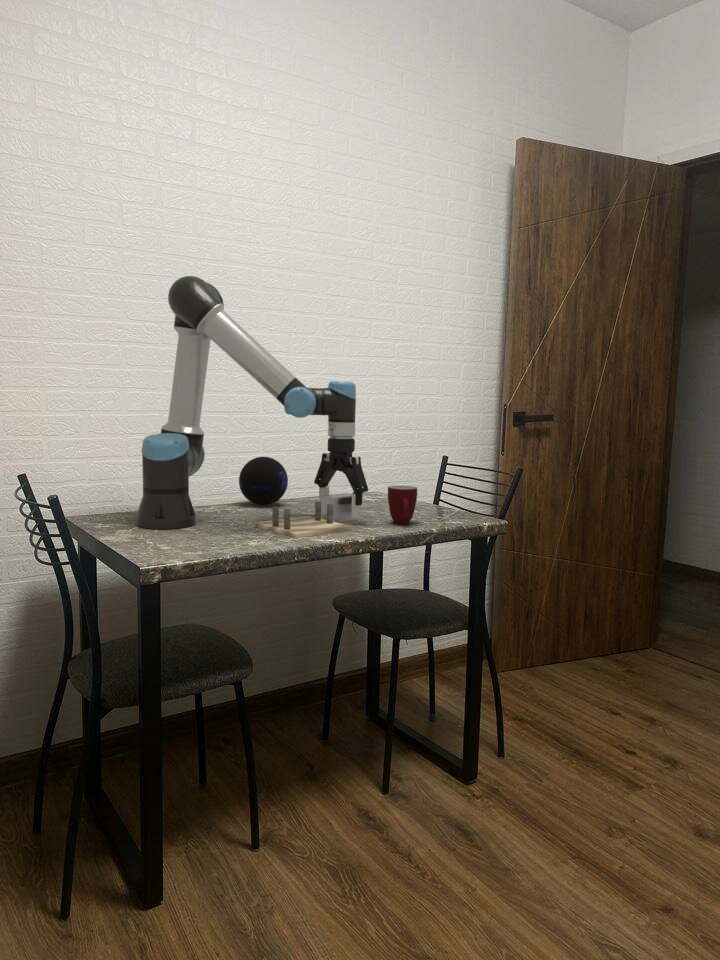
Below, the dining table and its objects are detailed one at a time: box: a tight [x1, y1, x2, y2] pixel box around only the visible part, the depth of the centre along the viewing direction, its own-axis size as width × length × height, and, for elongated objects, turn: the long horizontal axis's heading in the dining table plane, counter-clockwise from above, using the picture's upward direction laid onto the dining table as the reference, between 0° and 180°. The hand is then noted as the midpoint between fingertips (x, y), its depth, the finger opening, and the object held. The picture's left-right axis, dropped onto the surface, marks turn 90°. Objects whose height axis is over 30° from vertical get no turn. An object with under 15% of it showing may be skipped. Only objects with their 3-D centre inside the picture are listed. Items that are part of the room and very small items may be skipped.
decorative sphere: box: [238, 456, 289, 506], centre depth 226 cm, size 15×15×15 cm
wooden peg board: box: [254, 501, 353, 539], centre depth 191 cm, size 18×18×6 cm
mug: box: [387, 484, 418, 525], centre depth 200 cm, size 10×8×10 cm
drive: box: [321, 492, 359, 523], centre depth 205 cm, size 6×9×7 cm, turn 132°
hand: (339, 513), depth 205 cm, fingers open, 13 cm apart
